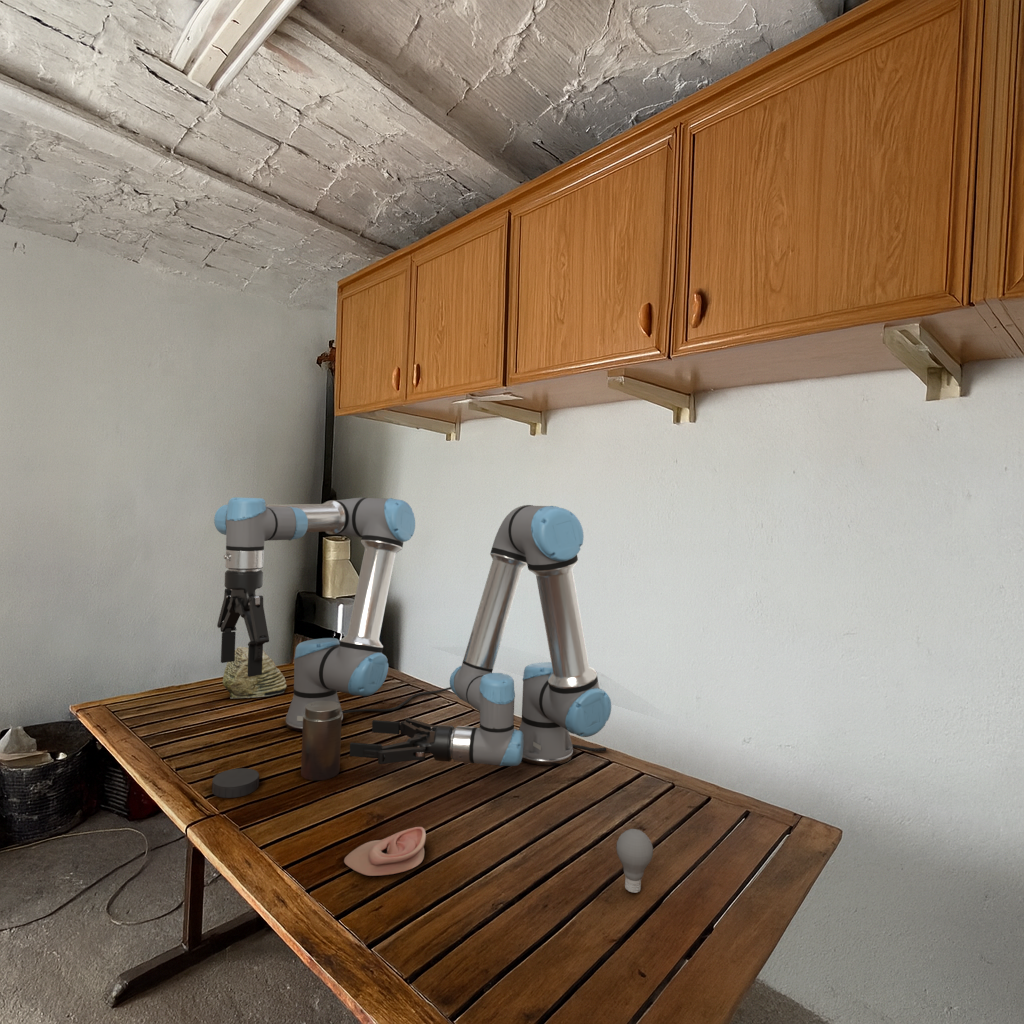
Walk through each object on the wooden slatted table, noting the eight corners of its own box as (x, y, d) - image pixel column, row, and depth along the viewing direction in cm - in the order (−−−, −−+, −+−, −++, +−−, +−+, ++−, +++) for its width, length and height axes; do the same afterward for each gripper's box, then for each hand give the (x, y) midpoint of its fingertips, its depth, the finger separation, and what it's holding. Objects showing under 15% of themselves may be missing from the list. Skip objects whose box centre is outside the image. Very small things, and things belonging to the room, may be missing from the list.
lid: (240, 774, 142) (240, 764, 142) (268, 785, 138) (268, 775, 138) (202, 790, 134) (202, 779, 134) (230, 802, 130) (231, 791, 130)
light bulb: (610, 879, 108) (613, 822, 108) (644, 879, 109) (647, 822, 109) (619, 902, 102) (622, 840, 102) (655, 901, 103) (658, 840, 103)
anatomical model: (336, 847, 108) (365, 815, 119) (335, 870, 108) (364, 836, 119) (410, 859, 105) (432, 825, 116) (409, 883, 105) (431, 846, 116)
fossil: (218, 695, 195) (220, 647, 195) (278, 685, 208) (279, 640, 207) (228, 703, 189) (230, 653, 188) (289, 692, 201) (290, 645, 201)
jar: (345, 774, 145) (348, 707, 145) (309, 783, 139) (312, 714, 139) (330, 761, 151) (333, 697, 151) (295, 770, 146) (297, 703, 146)
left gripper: (203, 564, 141) (200, 659, 142) (252, 577, 124) (248, 685, 124) (237, 563, 147) (234, 654, 147) (288, 575, 129) (284, 678, 130)
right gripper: (439, 786, 129) (339, 778, 131) (464, 738, 153) (380, 732, 156) (439, 749, 128) (340, 742, 131) (465, 708, 153) (380, 702, 156)
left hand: (240, 668), depth 136 cm, fingers open, 13 cm apart
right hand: (361, 737), depth 144 cm, fingers open, 13 cm apart
